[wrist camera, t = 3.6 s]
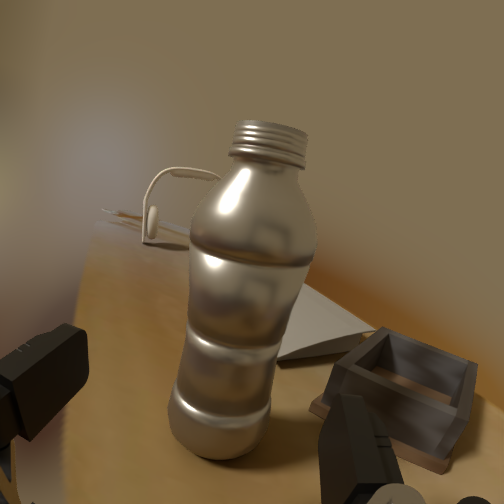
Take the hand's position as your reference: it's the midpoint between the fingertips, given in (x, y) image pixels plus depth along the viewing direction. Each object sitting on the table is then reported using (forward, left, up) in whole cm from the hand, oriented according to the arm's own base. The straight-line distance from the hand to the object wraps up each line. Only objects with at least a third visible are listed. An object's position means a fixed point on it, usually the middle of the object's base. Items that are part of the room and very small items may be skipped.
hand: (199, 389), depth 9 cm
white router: (+15, -29, -12) cm, 35 cm away
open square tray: (-4, -22, -11) cm, 25 cm away
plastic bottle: (+5, -7, -11) cm, 14 cm away
